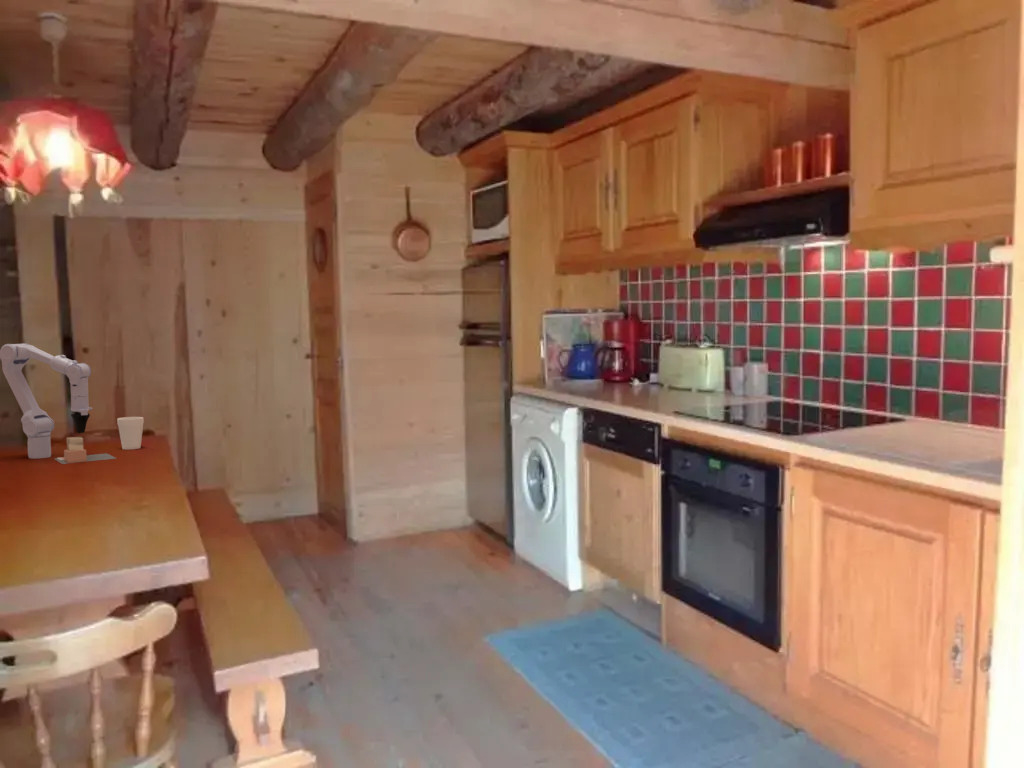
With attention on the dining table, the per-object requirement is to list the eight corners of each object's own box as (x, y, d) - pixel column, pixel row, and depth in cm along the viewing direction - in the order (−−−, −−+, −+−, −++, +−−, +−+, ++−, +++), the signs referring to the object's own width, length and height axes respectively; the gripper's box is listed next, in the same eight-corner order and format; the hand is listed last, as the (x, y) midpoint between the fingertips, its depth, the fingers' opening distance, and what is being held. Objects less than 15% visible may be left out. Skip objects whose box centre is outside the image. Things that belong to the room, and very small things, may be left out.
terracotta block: (64, 460, 289) (63, 449, 289) (82, 458, 293) (82, 448, 293) (68, 463, 285) (67, 451, 284) (86, 461, 289) (86, 450, 288)
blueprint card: (56, 458, 294) (56, 457, 294) (77, 456, 299) (77, 455, 299) (60, 460, 290) (60, 459, 290) (81, 458, 294) (81, 457, 294)
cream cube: (67, 449, 289) (66, 437, 289) (80, 448, 292) (80, 436, 291) (69, 451, 286) (69, 439, 285) (83, 450, 288) (82, 438, 288)
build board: (53, 461, 294) (53, 458, 294) (106, 455, 305) (106, 453, 305) (62, 466, 283) (62, 463, 283) (117, 460, 295) (116, 458, 295)
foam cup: (120, 449, 321) (119, 417, 320) (145, 448, 324) (144, 416, 323) (116, 453, 312) (115, 420, 311) (142, 451, 315) (141, 419, 314)
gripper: (96, 397, 291) (97, 434, 292) (87, 394, 302) (88, 429, 303) (74, 398, 286) (76, 435, 287) (66, 395, 297) (67, 431, 298)
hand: (81, 432), depth 295 cm, fingers closed
